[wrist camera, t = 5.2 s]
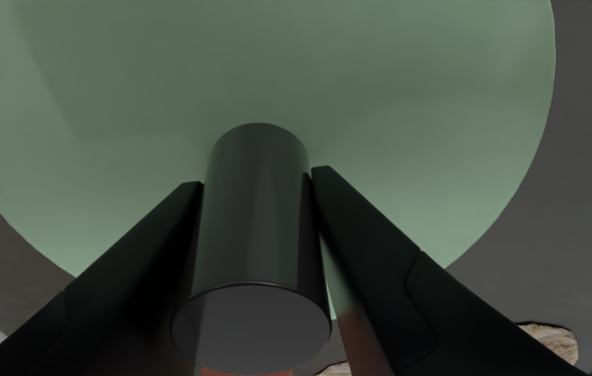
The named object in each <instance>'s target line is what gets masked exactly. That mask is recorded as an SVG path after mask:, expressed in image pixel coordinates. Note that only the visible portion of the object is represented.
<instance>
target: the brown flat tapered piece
mask: <svg viewBox="0 0 592 376" xmlns="http://www.w3.org/2000/svg"><path fill="white" fill-rule="evenodd" d="M517 326H519V327H520V328H521V329H523V330H524V331H525V332H527V333H528V334H530V335H531V336H532V337H534V338H535V339H536V340H538V341H539V342H540V343H542V344H543V345H545V346H546V347H547V348H549V349H550V350H551V351H553V352H554V353H555V354H557V355H558V356H560V357H561V358H563V359H564V360H566V361H567V362H569V363H570V364H571V365H574V364H575V362H576V361H577V359H578V346H577V342H576V340H575V337H574V335H573V333H572V332H570V331H566V329H562V328H555V327H550V326H549V327H548V326H547V325H546V326H541V325H539V326H538V327H537V324H532V323H531V324H528V325H517ZM316 376H352V374H351V371H350V367H349V363H348V361H347V362H345V363H339V364H335V365H334V366H333V365H331V366H329V367H328V368H327V369H326V370H324V371H323V372H322V373H319V374H317V375H316Z"/></svg>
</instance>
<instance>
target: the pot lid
mask: <svg viewBox="0 0 592 376" xmlns="http://www.w3.org/2000/svg"><path fill="white" fill-rule="evenodd" d="M555 65H556V50H555V29H554V17H553V12H552V7H551V2H550V0H0V214H1V215H2V216H3V217H4V219H5V220H6V221H7V222H8V223H9V224H10V225H11V226H12V227H13V228H14V229H15V230H16V231H17V232H18V233H19V234H20V235H21V236H22V237H23V238H24V239H25V240H26V241H28V242H29V243H30V244H31V245H32V246H33V247H34V248H35V249H37V250H38V251H39V252H40V253H42V254H43V255H44V256H46V257H47V258H48V259H49V260H51V261H52V262H53V263H55V264H56V265H57V266H59V267H60V268H62V269H63V270H65V271H66V272H68V273H70V274H71V275H73V276H74V277H78V276H79V275H80V274H81V273H82V272H83V271H84V270H85V269H87V268H88V267H89V266H90V265H91V264H92V263H93V262H94V261H95V260H97V259H98V258H99V257H100V256H101V255H102V254H103V253H104V252H105V251H107V250H108V249H109V248H110V247H111V246H112V245H113V244H114V243H115V242H117V241H118V240H119V239H120V238H121V237H122V236H123V235H124V234H126V233H127V232H128V231H129V230H130V229H131V228H132V227H133V226H134V225H136V224H137V223H138V222H139V221H140V220H141V219H142V218H143V217H144V216H146V215H147V214H148V213H149V212H150V211H151V210H152V209H153V208H154V207H156V206H157V205H158V204H159V203H160V202H161V201H162V200H163V199H164V198H166V197H167V196H168V195H169V194H170V193H171V192H172V191H173V190H175V189H176V188H177V187H178V186H179V185H180V184H181V183H184V182H191V181H200V182H202V184H203V186H202V190H201V195H200V199H199V203H198V207H197V211H196V215H195V219H194V223H193V228H192V232H191V236H190V240H189V244H188V248H187V252H186V257H185V261H184V265H183V269H182V273H181V277H180V281H179V285H178V290H177V294H176V298H175V302H174V306H173V310H172V314H171V319H170V323H169V331H170V336H171V339H172V341H173V344H174V345H175V346H176V348H177V349H178V350H179V351H180V352H181V353H182V354H183V355H184V356H185V357H186V358H188V359H189V360H191V361H192V362H194V363H196V364H198V365H200V366H202V367H205V368H208V369H210V370H214V371H218V372H222V373H227V374H234V375H266V374H273V373H278V372H283V371H286V370H290V369H293V368H295V367H298V366H300V365H302V364H304V363H306V362H308V361H310V360H311V359H313V358H314V357H315V356H317V355H318V354H319V353H320V352H321V351H322V350H323V349H324V348H325V346H326V345H327V343H328V341H329V339H330V336H331V332H332V320H334V319H337V318H336V314H335V311H334V307H333V303H332V299H331V296H330V292H329V288H328V284H327V281H326V276H325V269H324V262H323V255H322V248H321V241H320V233H319V227H318V220H317V213H316V206H315V199H314V192H313V185H312V176H311V169H312V168H313V167H317V166H325V165H329V166H331V167H332V168H333V169H334V170H335V171H336V172H338V173H339V174H340V175H341V176H342V177H343V178H344V179H345V180H346V181H347V182H349V183H350V184H351V185H352V186H353V187H354V188H355V189H356V190H357V191H358V192H360V193H361V194H362V195H363V196H364V197H365V198H366V199H367V200H368V201H369V202H370V203H372V204H373V205H374V206H375V207H376V208H377V209H378V210H379V211H380V212H381V213H383V214H384V215H385V216H386V217H387V218H388V219H389V220H390V221H391V222H392V223H393V224H395V225H396V226H397V227H398V228H399V229H400V230H401V231H402V232H403V233H404V234H406V235H407V236H408V237H409V238H410V239H411V240H412V241H413V242H414V243H415V244H417V245H418V246H419V247H420V248H421V251H424V252H426V253H427V254H428V255H429V256H430V257H431V258H432V259H433V260H434V261H435V262H436V263H438V264H439V265H440V266H441V267H442V268H443V269H445V268H446V267H447V266H448V265H450V264H451V263H452V262H454V261H455V260H456V259H458V258H459V257H460V256H461V255H462V254H463V253H464V252H465V251H467V250H468V249H469V248H470V247H471V246H472V245H473V244H474V243H475V242H476V241H477V240H478V239H480V237H481V236H482V235H483V234H484V233H485V232H486V231H487V229H488V228H489V227H490V226H491V225H492V224H493V223H494V222H495V220H496V219H497V218H498V217H499V216H500V214H501V213H502V211H503V210H504V209H505V207H506V206H507V204H508V203H509V201H510V200H511V199H512V197H513V196H514V194H515V193H516V191H517V190H518V188H519V186H520V184H521V182H522V180H523V178H524V177H525V175H526V173H527V171H528V169H529V167H530V166H531V164H532V161H533V159H534V156H535V154H536V151H537V148H538V146H539V143H540V141H541V138H542V136H543V133H544V129H545V125H546V121H547V117H548V113H549V109H550V105H551V101H552V95H553V85H554V75H555Z"/></svg>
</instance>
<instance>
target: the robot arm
mask: <svg viewBox="0 0 592 376" xmlns="http://www.w3.org/2000/svg"><path fill="white" fill-rule="evenodd" d="M311 176H312V185H313V192H314V199H315V206H316V213H317V220H318V227H319V233H320V241H321V248H322V255H323V262H324V269H325V276H326V281H327V284H328V288H329V292H330V296H331V299H332V303H333V307H334V311H335V314H336V318H337V322H338V326H339V329H340V333H341V337H342V341H343V344H344V348H345V352H346V356H347V359H348V363H349V367H350V371H351V374H352V376H590V375H588V374H586V373H585V372H583V371H581V370H580V369H578V368H576V367H575V366H573V365H571V364H570V363H569V362H567V361H566V360H564V359H563V358H561V357H560V356H558V355H557V354H555V353H554V352H553V351H551V350H550V349H549V348H547V347H546V346H545V345H543V344H542V343H540V342H539V341H538V340H536V339H535V338H534V337H532V336H531V335H530V334H528V333H527V332H525V331H524V330H523V329H521V328H520V327H519V326H517V325H516V324H515V323H513V322H512V321H510V320H509V319H508V318H506V317H505V316H504V315H502V314H501V313H500V312H498V311H497V310H495V309H494V308H493V307H491V306H490V305H489V304H487V303H486V302H485V301H483V300H482V299H481V298H479V297H478V296H477V295H475V294H474V293H473V292H472V291H470V290H469V289H468V288H466V287H465V286H464V285H463V284H461V283H460V282H459V281H457V280H456V279H455V278H454V277H453V276H452V275H450V274H449V273H448V272H447V271H446V270H445V269H443V268H442V267H441V266H440V265H439V264H438V263H436V262H435V261H434V260H433V259H432V258H431V257H430V256H429V255H428V254H427V253H426V252H424V251H421V248H420V247H419V246H418V245H417V244H415V243H414V242H413V241H412V240H411V239H410V238H409V237H408V236H407V235H406V234H404V233H403V232H402V231H401V230H400V229H399V228H398V227H397V226H396V225H395V224H393V223H392V222H391V221H390V220H389V219H388V218H387V217H386V216H385V215H384V214H383V213H381V212H380V211H379V210H378V209H377V208H376V207H375V206H374V205H373V204H372V203H370V202H369V201H368V200H367V199H366V198H365V197H364V196H363V195H362V194H361V193H360V192H358V191H357V190H356V189H355V188H354V187H353V186H352V185H351V184H350V183H349V182H347V181H346V180H345V179H344V178H343V177H342V176H341V175H340V174H339V173H338V172H336V171H335V170H334V169H333V168H332V167H331V166H329V165H325V166H317V167H313V168H312V169H311ZM202 186H203V184H202V182H200V181H191V182H184V183H181V184H180V185H179V186H178V187H177V188H176V189H175V190H173V191H172V192H171V193H170V194H169V195H168V196H167V197H166V198H164V199H163V200H162V201H161V202H160V203H159V204H158V205H157V206H156V207H154V208H153V209H152V210H151V211H150V212H149V213H148V214H147V215H146V216H144V217H143V218H142V219H141V220H140V221H139V222H138V223H137V224H136V225H134V226H133V227H132V228H131V229H130V230H129V231H128V232H127V233H126V234H124V235H123V236H122V237H121V238H120V239H119V240H118V241H117V242H115V243H114V244H113V245H112V246H111V247H110V248H109V249H108V250H107V251H105V252H104V253H103V254H102V255H101V256H100V257H99V258H98V259H97V260H95V261H94V262H93V263H92V264H91V265H90V266H89V267H88V268H87V269H85V270H84V271H83V272H82V273H81V274H80V275H79V276H78V277H76V278H75V279H74V280H73V281H72V282H71V283H70V284H69V285H68V286H66V287H65V289H64V291H65V292H64V291H61V292H60V293H59V294H57V295H56V296H55V297H54V298H53V299H52V300H51V301H50V302H48V303H47V304H46V305H45V306H44V307H43V308H42V309H41V310H39V311H38V312H37V313H36V314H35V315H34V316H32V317H31V318H30V319H29V320H28V321H27V322H26V323H24V324H23V325H22V326H21V327H20V328H19V329H17V330H16V331H15V332H14V333H13V334H11V335H10V336H9V337H8V338H6V339H5V340H4V341H3V342H1V344H0V376H194V370H195V364H196V363H194V362H192V361H191V360H189V359H188V358H186V357H185V356H184V355H183V354H182V353H181V352H180V351H179V350H178V349H177V348H176V346H175V345H174V344H173V341H172V339H171V336H170V331H169V323H170V319H171V314H172V310H173V306H174V302H175V298H176V294H177V290H178V285H179V281H180V277H181V273H182V269H183V265H184V261H185V257H186V252H187V248H188V244H189V240H190V236H191V232H192V228H193V223H194V219H195V215H196V211H197V207H198V203H199V199H200V195H201V190H202Z"/></svg>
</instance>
